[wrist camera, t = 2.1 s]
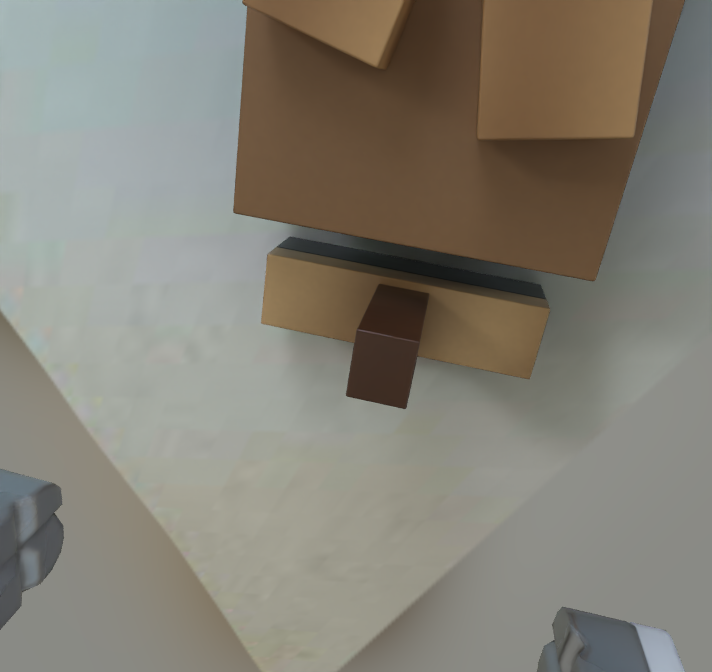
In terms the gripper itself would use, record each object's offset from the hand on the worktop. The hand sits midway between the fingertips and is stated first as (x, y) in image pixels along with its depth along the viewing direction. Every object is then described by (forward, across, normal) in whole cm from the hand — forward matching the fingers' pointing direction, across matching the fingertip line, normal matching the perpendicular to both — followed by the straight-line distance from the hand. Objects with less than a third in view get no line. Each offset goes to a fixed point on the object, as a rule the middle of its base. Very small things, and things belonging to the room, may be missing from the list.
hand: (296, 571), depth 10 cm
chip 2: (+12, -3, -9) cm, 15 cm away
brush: (+18, 0, +1) cm, 18 cm away
